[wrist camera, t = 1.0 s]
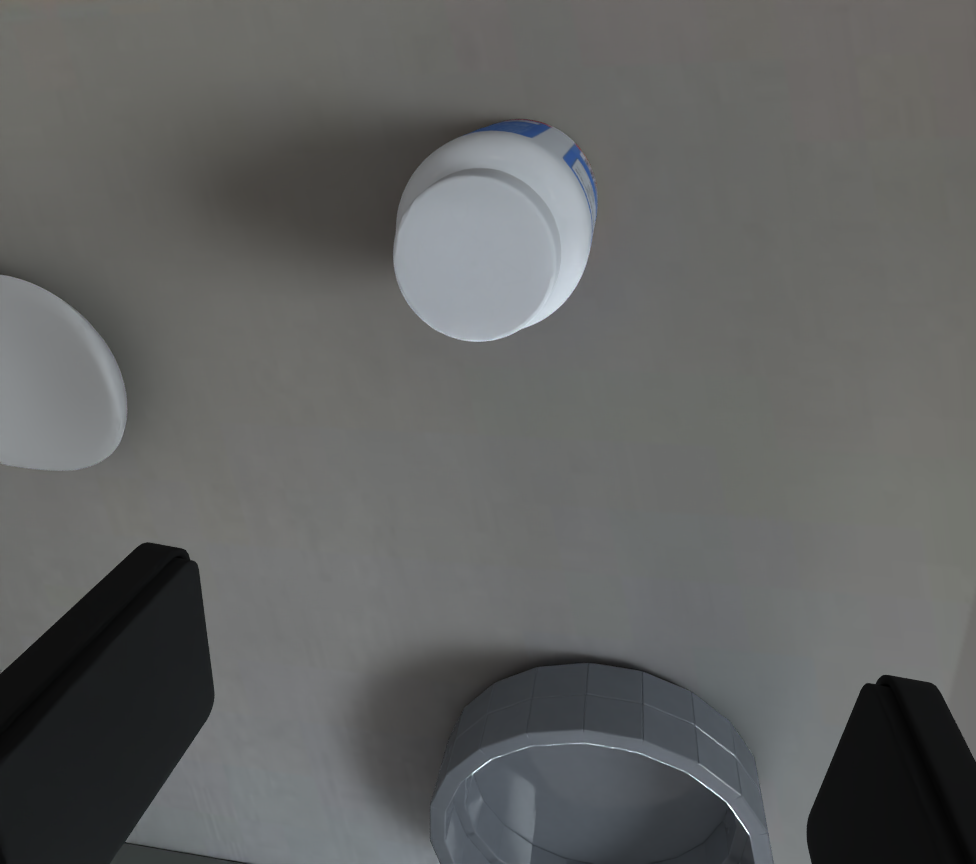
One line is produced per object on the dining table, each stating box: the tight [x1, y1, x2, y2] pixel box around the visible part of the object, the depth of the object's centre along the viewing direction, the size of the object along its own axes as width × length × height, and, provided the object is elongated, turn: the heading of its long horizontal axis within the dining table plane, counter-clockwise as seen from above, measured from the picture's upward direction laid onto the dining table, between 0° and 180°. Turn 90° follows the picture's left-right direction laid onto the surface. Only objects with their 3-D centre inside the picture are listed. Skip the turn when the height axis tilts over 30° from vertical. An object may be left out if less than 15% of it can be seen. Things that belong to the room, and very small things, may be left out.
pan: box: [430, 663, 774, 864], centre depth 35 cm, size 16×16×4 cm
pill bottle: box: [393, 119, 598, 342], centre depth 21 cm, size 6×5×10 cm
